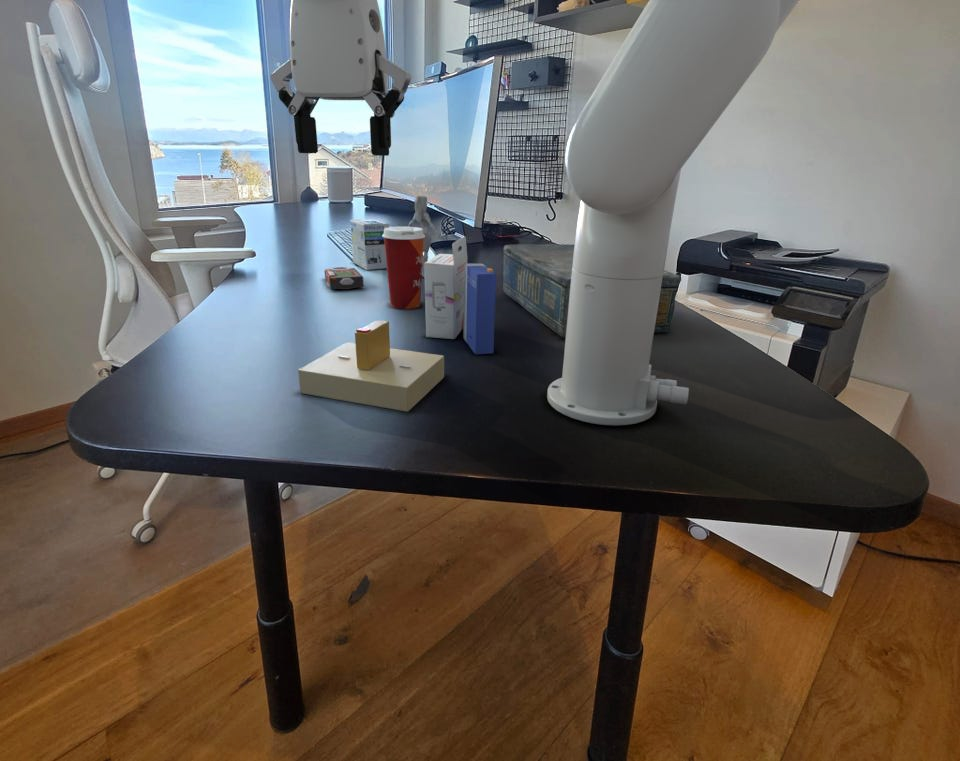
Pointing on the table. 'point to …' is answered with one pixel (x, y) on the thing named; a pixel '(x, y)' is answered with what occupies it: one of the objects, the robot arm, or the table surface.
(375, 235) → the light bulb box
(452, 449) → the table surface
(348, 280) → the brown red carton
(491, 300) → the walkman
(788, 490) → the table surface
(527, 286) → the metal box
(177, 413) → the table surface
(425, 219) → the human figurine
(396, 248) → the paper cup
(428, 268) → the ink cartridge box
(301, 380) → the plate
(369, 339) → the block
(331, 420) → the table surface
